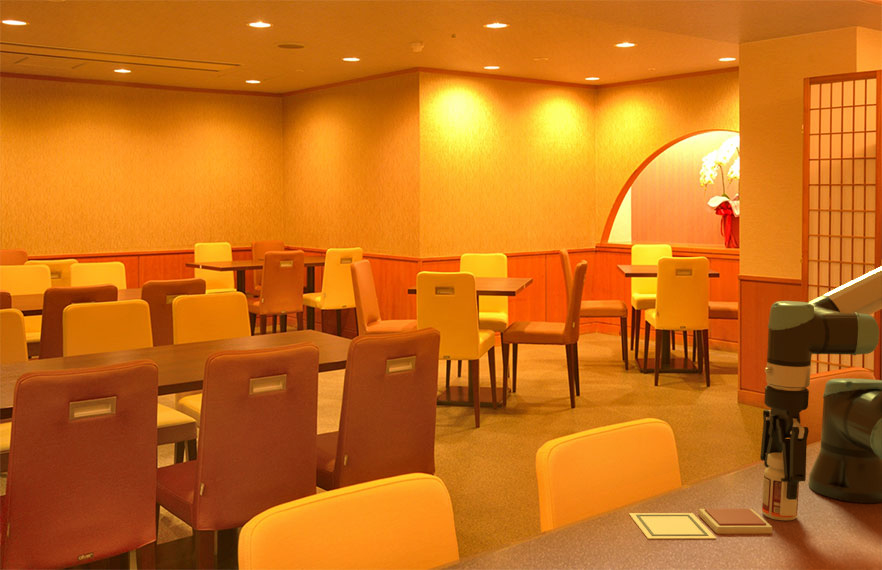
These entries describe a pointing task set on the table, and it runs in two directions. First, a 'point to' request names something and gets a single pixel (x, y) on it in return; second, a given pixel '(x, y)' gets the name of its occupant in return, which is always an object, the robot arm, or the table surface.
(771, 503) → the pill bottle
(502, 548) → the table surface
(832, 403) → the robot arm
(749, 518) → the pad
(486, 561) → the table surface
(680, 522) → the paper sheet
